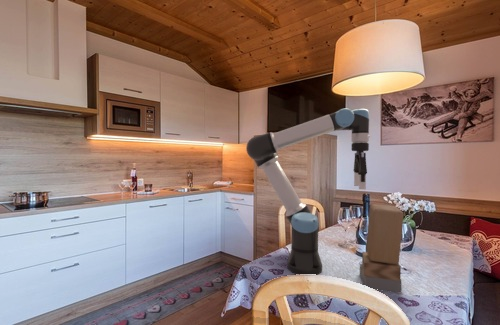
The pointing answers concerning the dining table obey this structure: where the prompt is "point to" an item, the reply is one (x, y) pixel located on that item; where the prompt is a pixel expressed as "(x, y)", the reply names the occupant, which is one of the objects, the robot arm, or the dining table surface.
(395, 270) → the tower top slab
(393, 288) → the tower base slab
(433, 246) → the dining table surface
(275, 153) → the robot arm
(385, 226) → the wooden block
